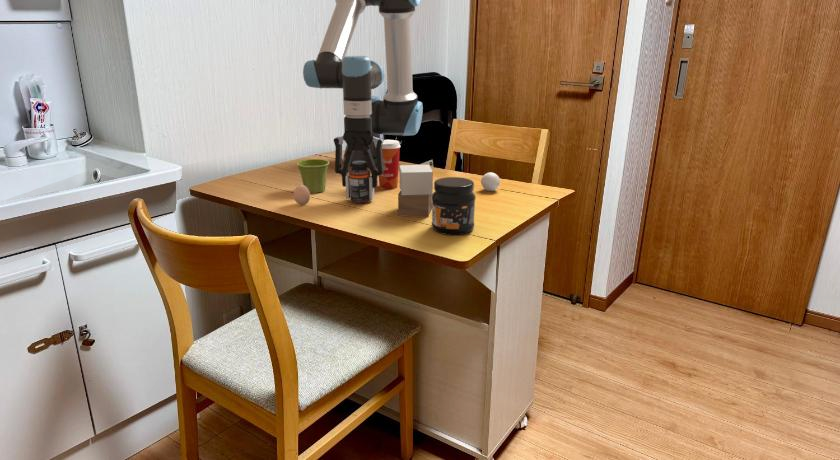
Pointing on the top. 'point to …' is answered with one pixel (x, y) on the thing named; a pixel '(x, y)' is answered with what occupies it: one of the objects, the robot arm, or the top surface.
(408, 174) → the top block
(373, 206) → the top surface
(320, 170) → the plant pot
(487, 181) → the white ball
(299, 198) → the egg
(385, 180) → the paper cup
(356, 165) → the supplement bottle
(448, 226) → the supplement container
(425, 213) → the bottom block
